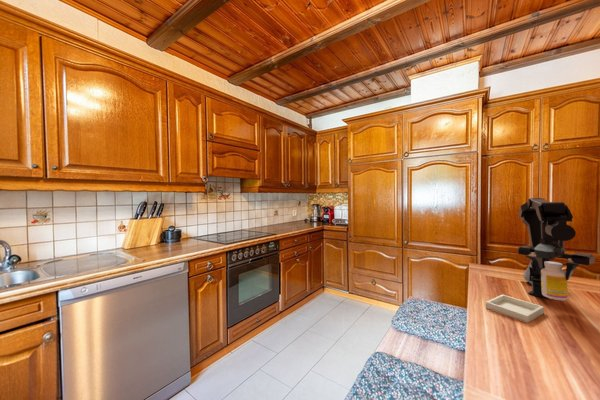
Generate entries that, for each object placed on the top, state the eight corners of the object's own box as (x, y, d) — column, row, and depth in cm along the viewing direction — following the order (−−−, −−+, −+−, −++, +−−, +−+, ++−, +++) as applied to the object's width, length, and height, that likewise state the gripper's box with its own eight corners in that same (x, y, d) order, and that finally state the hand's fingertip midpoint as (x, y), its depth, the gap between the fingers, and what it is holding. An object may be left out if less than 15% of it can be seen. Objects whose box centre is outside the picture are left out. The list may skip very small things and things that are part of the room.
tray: (502, 300, 97) (502, 294, 97) (544, 313, 86) (543, 306, 86) (485, 308, 92) (485, 301, 92) (527, 323, 80) (527, 316, 80)
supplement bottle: (573, 301, 83) (572, 265, 82) (551, 300, 84) (550, 265, 84) (557, 293, 89) (556, 260, 89) (536, 292, 91) (535, 260, 90)
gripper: (509, 235, 91) (511, 274, 92) (582, 242, 74) (583, 290, 75) (523, 231, 96) (525, 268, 96) (594, 238, 79) (596, 283, 79)
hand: (553, 277), depth 87 cm, fingers closed on supplement bottle, 7 cm apart
